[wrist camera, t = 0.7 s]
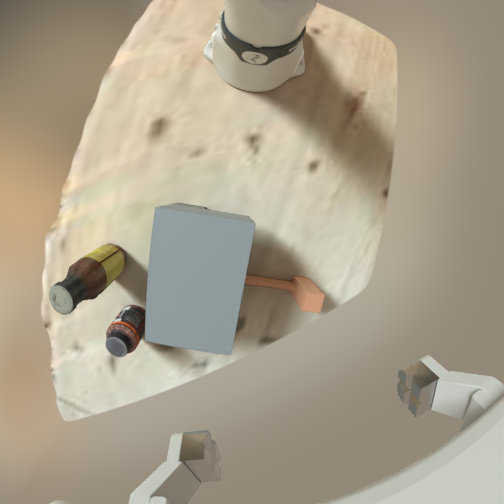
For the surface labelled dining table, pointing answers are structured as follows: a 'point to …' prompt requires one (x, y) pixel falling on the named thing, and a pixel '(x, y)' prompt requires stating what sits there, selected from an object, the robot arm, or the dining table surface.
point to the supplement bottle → (126, 331)
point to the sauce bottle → (88, 278)
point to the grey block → (196, 277)
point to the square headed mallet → (294, 290)
